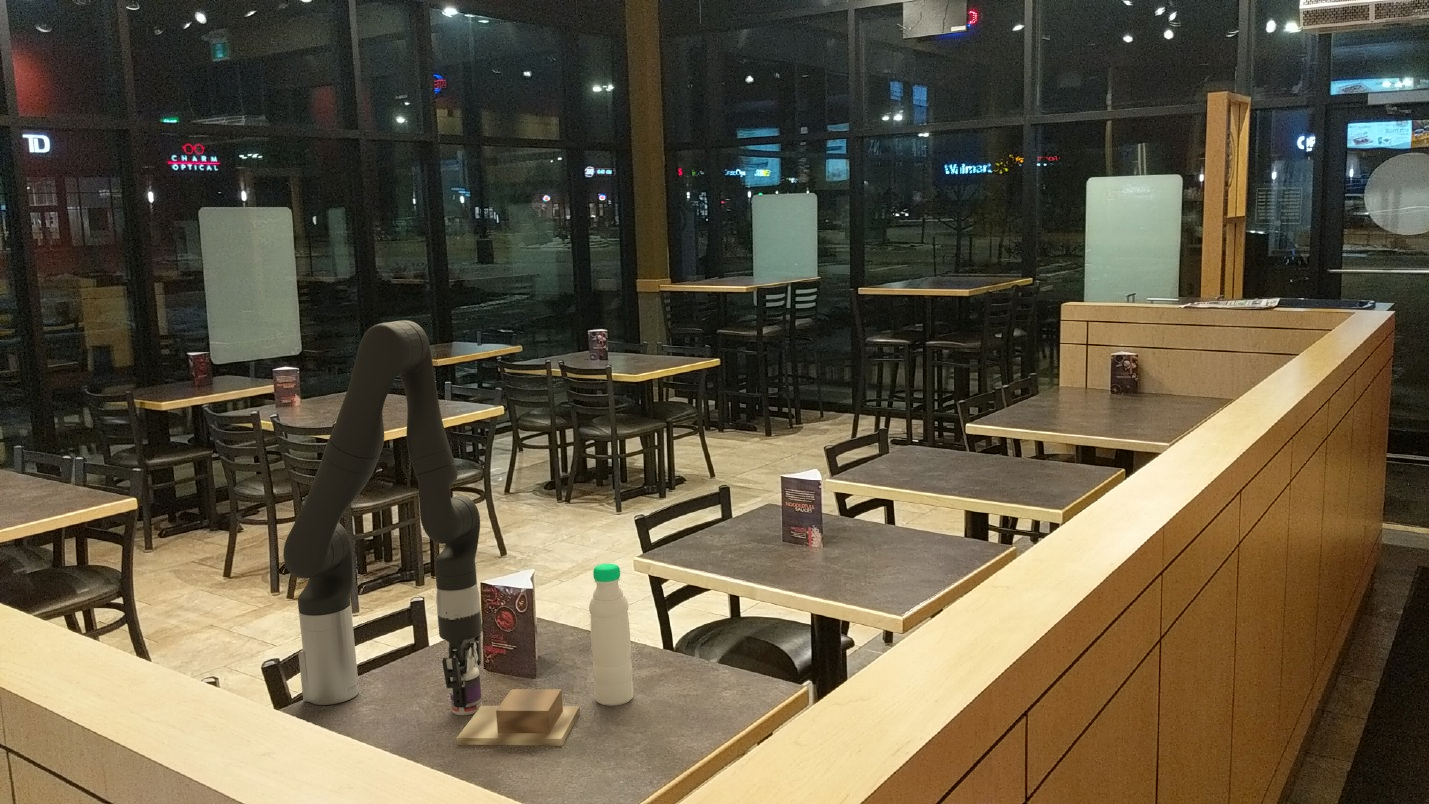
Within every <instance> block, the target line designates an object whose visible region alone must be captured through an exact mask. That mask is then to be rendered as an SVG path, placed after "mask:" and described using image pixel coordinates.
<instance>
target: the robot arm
mask: <svg viewBox="0 0 1429 804" xmlns="http://www.w3.org/2000/svg"><path fill="white" fill-rule="evenodd" d="M433 364H434V363H433V356H432V351H431V345H430V342H429V338H428V336H427V334H426V332H425V330H424V329H423V327H421V326H420V325H419V324H418V323H416V322H414V321H412V320H396V321H389V322H382V323H381V322H380V323H377V324H374V325H373V326H370V328H368V329H367V330H366V331H365V332H364V334H363V336H362V337H361V340H360V343H359V346H358V349H357V353H356V357H355V360H354V365H353V368H352V372H351V376H350V380H349V384H348V387H347V391H346V393H345V396H344V399H343V401H342V404H341V407H340V410H339V413H338V415H337V418H336V421H335V423H334V426H333V428H332V430H331V433H330V434H329V437H328V440H327V443H326V446H325V449H324V451H323V454H322V457H321V460H320V463H319V465H318V469H317V471H316V473H315V476H314V478H313V481H312V484H311V486H310V488H309V491H308V494H307V497H306V499H305V502H304V504H303V506H302V508H301V510H300V511H299V513H298V516H297V518H296V520H295V522H294V524H293V525H292V527H291V529H290V531H289V532H288V535H287V537H286V539H285V542H284V546H283V555H282V556H283V561H284V565H285V567H286V569H287V571H288V572H289V573H290V574H291V575H292V576H294V577H295V578H298V579H303V580H305V579H306V580H307V579H308V580H307V583H306V586H305V587H304V588H303V590H302V591H301V592H300V594H299V595H298V597H297V598H298V599H297V606H298V607H297V608H298V618H299V627H300V636H301V645H302V649H301V650H300V651H299V652H298V661H299V672H300V673H299V674H300V682H301V690H302V701H303V702H308V703H311V704H313V705H317V706H327V705H336V704H340V703H343V702H347V701H349V700H352V699H353V698H355V697H357V695H358V694H359V693H360V685H359V684H360V683H359V676H358V663H357V654H356V646H355V644H356V643H355V634H354V624H353V623H354V622H353V614H352V613H353V612H352V605H351V603H352V602H351V595H352V592H353V589H354V566H353V550H352V543H351V539H350V536H349V533H348V531H347V530H346V529H345V527H344V526H343V525H342V524H341V523H340V520H341V518H342V517H343V516H344V514H345V512H346V511H347V510H348V508H349V507H350V506H351V504H352V503H354V501H355V499H356V498H357V497H358V496H359V495H360V493H361V492H362V491H363V490H364V488H365V487H366V485H367V484H368V483H369V481H370V479H371V477H372V476H373V473H374V472H375V468H376V467H377V464H378V461H379V459H380V456H381V453H382V451H383V447H384V443H385V427H384V426H385V425H384V418H383V417H384V416H383V413H384V405H385V403H386V399H387V396H388V395H389V392H390V390H391V387H392V385H393V383H394V381H395V379H396V378H397V377H398V376H399V379H400V381H401V382H402V383H401V384H402V387H403V388H404V393H405V398H406V404H407V405H406V406H407V411H406V412H407V415H406V416H407V417H406V421H407V422H406V446H407V451H408V452H407V453H408V455H409V458H410V462H411V465H412V468H413V471H414V474H415V477H416V481H417V483H418V484H417V485H418V486H417V487H418V505H419V506H418V507H419V518H420V522H421V526H422V529H423V531H424V532H425V534H426V536H427V537H428V538H429V539H430V540H431V541H433V542H434V543H436V544H439V545H441V544H443V545H444V544H445V545H444V548H443V550H442V551H441V552H440V553H439V554H438V555H437V556H436V559H434V560H435V561H434V572H435V585H436V596H435V597H436V600H435V601H436V602H435V603H436V612H437V613H436V614H437V622H438V625H437V627H438V636H439V637H440V638H441V639H442V640H443V641H446V642H448V643H449V644H448V648H447V657H443V658H442V661H441V662H442V668H443V669H442V670H443V674H444V680H445V685H446V688H447V689H450V688H453V699H454V706H455V707H457V708H464V707H466V705H467V694H466V686H465V685H466V674H468V673H469V663H470V657H471V656H474V660H475V665H474V667H476V668H478V669H479V666H481V664H482V655H481V654H482V647H481V646H482V645H481V644H482V643H481V642H482V641H481V639H482V638H481V637H482V635H481V633H482V632H483V624H482V611H481V610H482V609H481V598H480V591H479V587H478V581H477V580H478V579H477V565H476V555H477V552H478V546H479V545H478V544H479V539H480V530H481V519H480V518H481V516H480V511H479V509H478V507H477V505H476V503H475V502H474V501H473V500H472V498H470V497H468V496H465V495H457V496H453V497H452V496H451V487H452V484H454V483H455V482H456V480H457V479H458V475H459V474H458V467H457V465H456V463H455V462H456V461H455V459H454V456H453V455H454V454H453V452H452V450H451V447H450V443H449V440H448V437H447V434H446V429H445V426H444V422H443V417H442V413H441V408H440V402H439V395H438V389H437V383H436V377H435V369H434V365H433ZM459 667H464V668H463V669H460V668H459ZM450 677H451V678H450ZM455 678H456V681H455Z"/></svg>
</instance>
